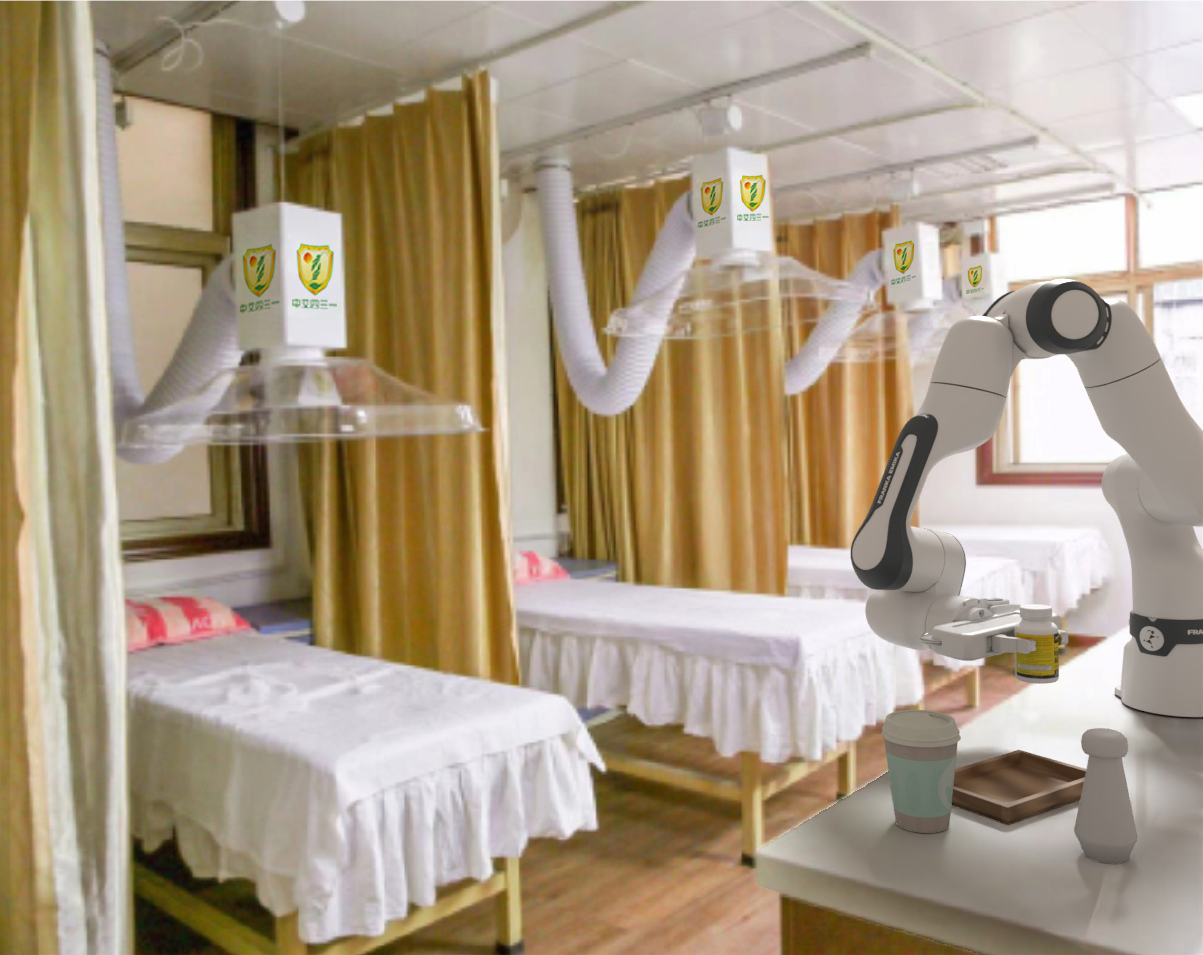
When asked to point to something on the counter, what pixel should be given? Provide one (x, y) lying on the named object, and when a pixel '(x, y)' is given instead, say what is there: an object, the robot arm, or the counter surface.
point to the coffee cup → (921, 767)
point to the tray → (1016, 786)
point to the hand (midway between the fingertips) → (1048, 642)
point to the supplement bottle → (1037, 645)
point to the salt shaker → (1105, 799)
